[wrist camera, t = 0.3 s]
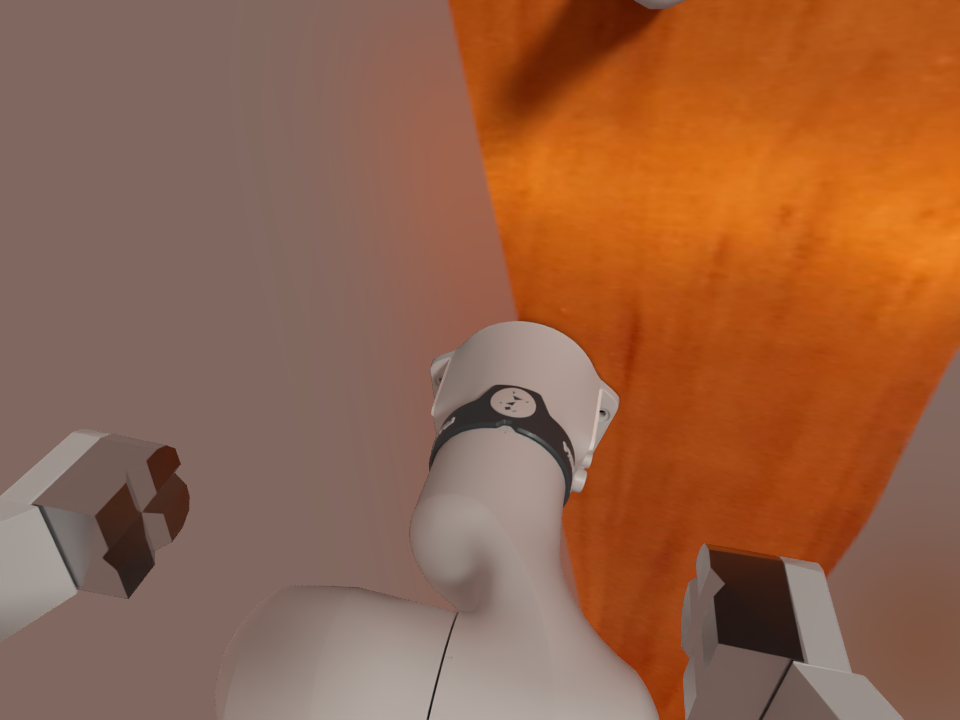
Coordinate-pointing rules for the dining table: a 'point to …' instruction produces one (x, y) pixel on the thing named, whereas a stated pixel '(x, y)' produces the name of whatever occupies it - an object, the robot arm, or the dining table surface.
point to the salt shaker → (659, 3)
